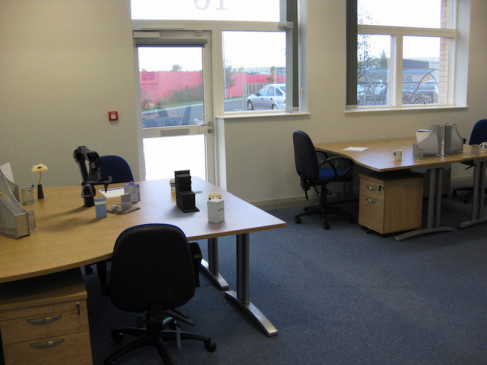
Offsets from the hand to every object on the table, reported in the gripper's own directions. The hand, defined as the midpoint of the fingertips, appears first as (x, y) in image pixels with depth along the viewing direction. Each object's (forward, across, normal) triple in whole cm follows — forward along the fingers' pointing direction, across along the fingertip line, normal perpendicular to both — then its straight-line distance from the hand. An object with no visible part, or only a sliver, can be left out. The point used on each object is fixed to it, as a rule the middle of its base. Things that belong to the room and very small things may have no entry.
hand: (99, 194), depth 299 cm
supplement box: (+30, +74, -21) cm, 83 cm away
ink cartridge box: (+8, +12, +29) cm, 32 cm away
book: (+15, +3, -10) cm, 18 cm away
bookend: (+20, +53, +9) cm, 57 cm away
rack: (+13, +11, +6) cm, 18 cm away
